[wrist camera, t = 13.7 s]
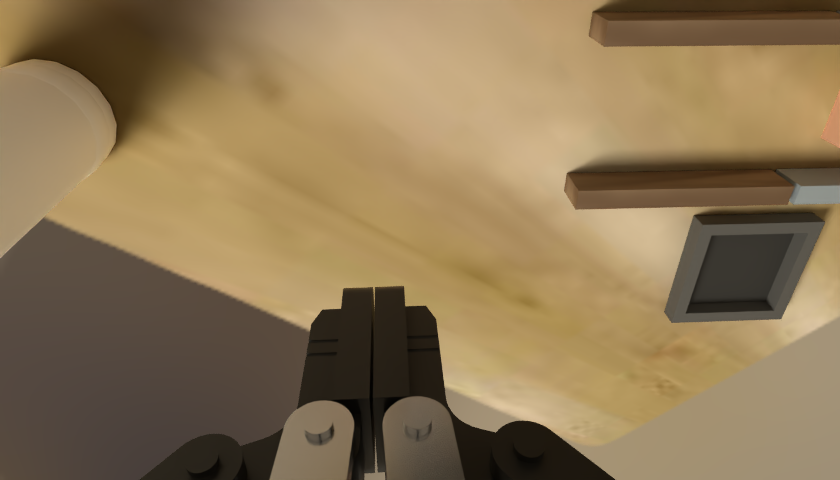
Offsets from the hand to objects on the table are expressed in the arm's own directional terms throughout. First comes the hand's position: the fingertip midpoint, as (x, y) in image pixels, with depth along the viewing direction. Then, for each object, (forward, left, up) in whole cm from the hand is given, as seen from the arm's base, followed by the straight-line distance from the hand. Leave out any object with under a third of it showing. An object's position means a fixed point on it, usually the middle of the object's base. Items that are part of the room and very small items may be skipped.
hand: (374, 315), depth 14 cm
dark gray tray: (+18, +30, -27) cm, 44 cm away
